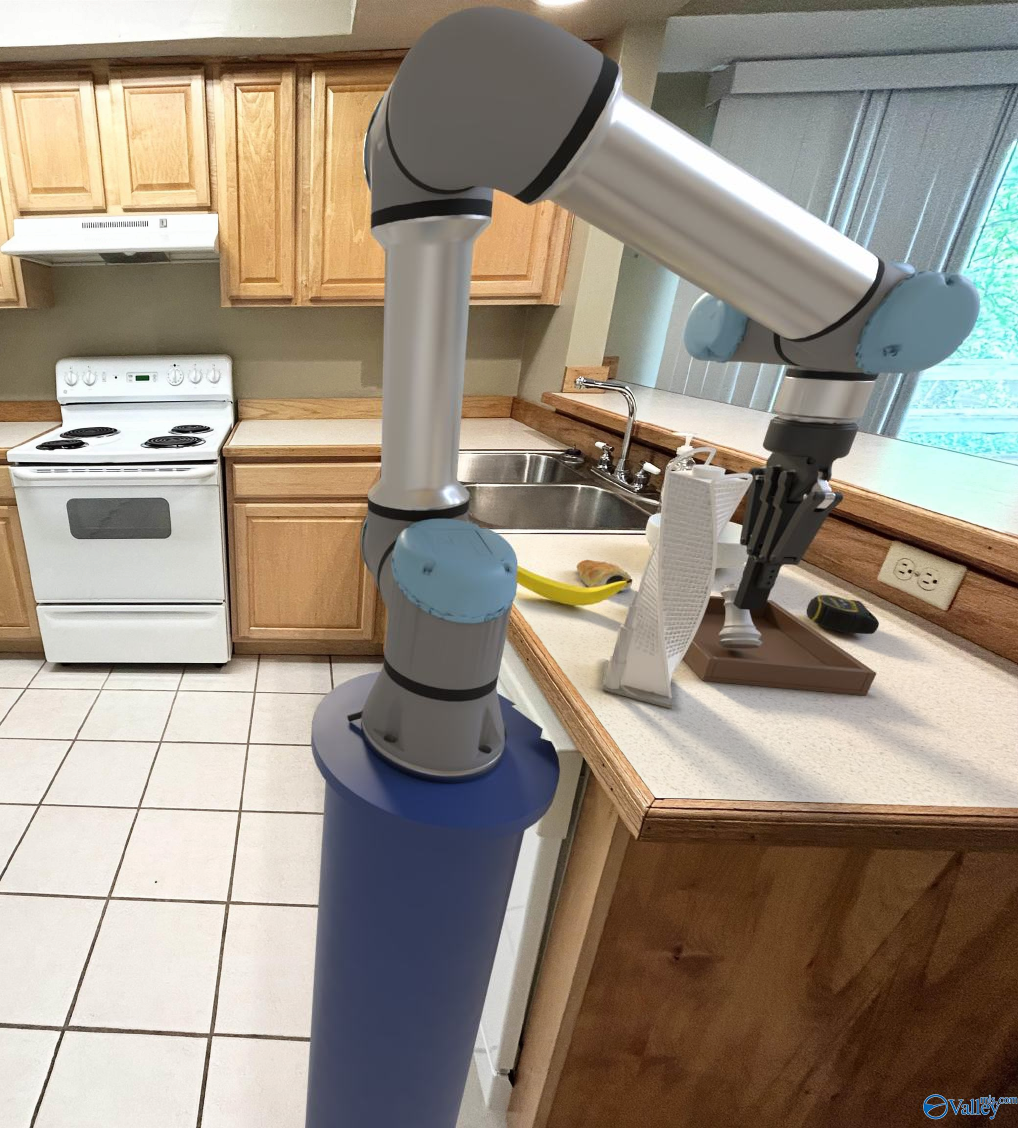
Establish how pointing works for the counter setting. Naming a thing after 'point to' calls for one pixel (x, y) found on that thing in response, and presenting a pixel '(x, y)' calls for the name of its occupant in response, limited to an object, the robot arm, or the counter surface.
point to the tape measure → (841, 615)
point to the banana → (567, 589)
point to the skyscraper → (674, 581)
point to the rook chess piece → (737, 624)
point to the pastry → (601, 574)
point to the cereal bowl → (727, 543)
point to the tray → (775, 654)
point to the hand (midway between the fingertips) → (748, 607)
